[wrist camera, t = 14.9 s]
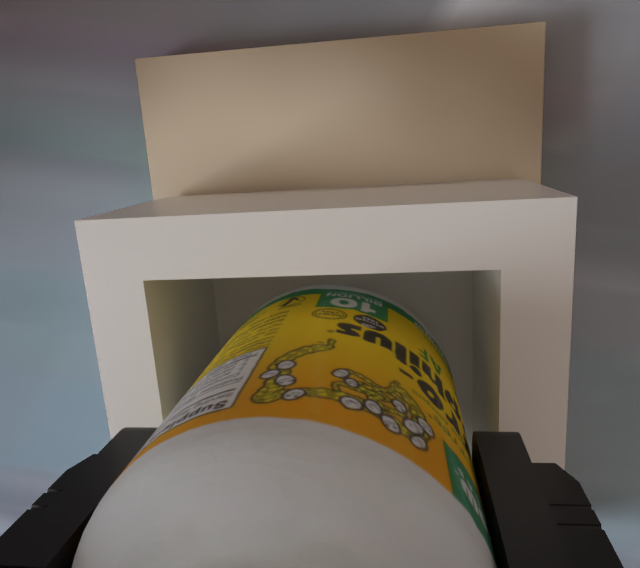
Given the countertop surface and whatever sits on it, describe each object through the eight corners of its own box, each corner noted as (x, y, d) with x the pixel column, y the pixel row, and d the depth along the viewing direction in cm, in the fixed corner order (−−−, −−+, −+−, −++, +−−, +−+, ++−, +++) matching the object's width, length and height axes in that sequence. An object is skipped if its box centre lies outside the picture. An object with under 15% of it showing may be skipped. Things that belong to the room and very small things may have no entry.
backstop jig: (522, 522, 17) (620, 829, 10) (208, 512, 19) (76, 771, 11) (535, 29, 14) (703, -105, 6) (151, 63, 15) (-97, -10, 8)
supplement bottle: (182, 367, 14) (-258, 833, 5) (352, 228, 12) (217, 494, 3) (325, 526, 14) (190, 1228, 5) (502, 410, 13) (762, 1088, 4)
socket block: (513, 503, 16) (556, 640, 12) (205, 494, 17) (140, 615, 13) (521, 178, 14) (577, 197, 9) (167, 196, 15) (74, 220, 11)
